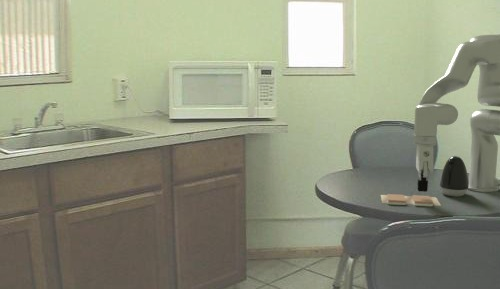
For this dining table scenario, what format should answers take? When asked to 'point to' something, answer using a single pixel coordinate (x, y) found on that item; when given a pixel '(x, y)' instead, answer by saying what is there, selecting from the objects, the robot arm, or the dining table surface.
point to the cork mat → (410, 201)
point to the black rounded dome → (454, 177)
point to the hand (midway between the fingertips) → (422, 190)
